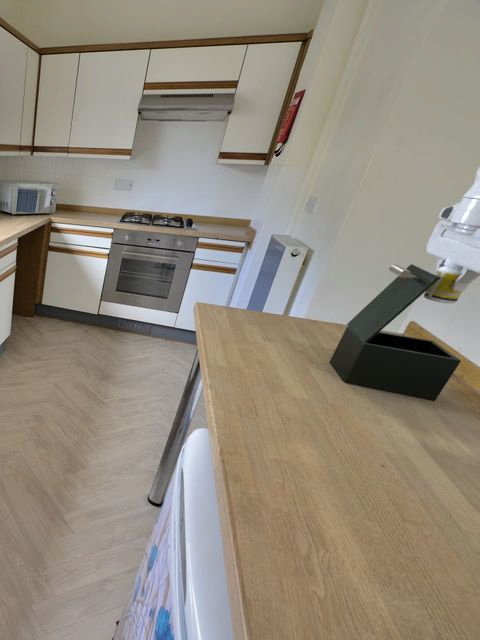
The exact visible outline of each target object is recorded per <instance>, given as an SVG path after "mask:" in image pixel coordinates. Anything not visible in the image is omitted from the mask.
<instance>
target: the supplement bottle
mask: <svg viewBox="0 0 480 640" xmlns="http://www.w3.org/2000/svg"><path fill="white" fill-rule="evenodd" d="M444 265H445V266H444V267H441V268H439V269H438V270H437V269H436V270H437V272H435V273H434V275H436V276H438V277H441V278H440V279H439V280H438V281H437V282H436V283H435V284H433V285H432V286H431V287H430V288H429V289H428V290H427V291H425V292H424V293H423V298H424V299H427V300H428V301H429V300H430V301H433V302H437V303H440V304H441V303H443V304H456V303H457V301H458V300H459V298H460V296H461V294H462V293H463V291H455V290H453V289H451V288H450V287H449V286H450V285H451V283H452V281H453V280H456V279H457V278H458V277H459V276H460V275H461V274H462V273H461V271H462V269H463V267H461V266H459V265H456V264H454V263H453V260H451V259H449V258H447V260H446V261H445V263H444Z"/></svg>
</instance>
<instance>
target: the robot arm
mask: <svg viewBox="0 0 480 640" xmlns="http://www.w3.org/2000/svg"><path fill="white" fill-rule="evenodd" d="M438 219H440V220H439V221H438V222H437V223H436V225H435V227H434V229H433V231H432V233H431V235H430V237H429V239H428V241H427V244H426V247H425V252H426V254H428V255H431V256H433V257H436V258H438V261H437V263H436V272H437V270H438V269H439V268H441V267H444V266H445V265H444V263H445V261H446V260H447V258H449V259H451V260H453V263H454V264H456V265H459V266H461V267H463V269H462V271H461V273H462V274H461V275H460V276H459V277H458V278H457V279H456V280H453V281H452V283H451V285H450V286H449V287H450V288H451V289H453V290H455V291H462V292H464V291H466V290H467V288H468V286H469V285H470V284H471V283H472V282H473V281H475V280H476V279H478V278H479V277H480V166H479V167H478V168H477V170H476V173H475V178H474V182H473V183H472V185H471V187H470V188H469V189H468V190H467V191H466V192H465V193H464V195H463V196H462V198H461V200H460V202H457V203H455V204H452V205H450V206H446V207H443V208H442V210H441V211H440V213H439V215H438ZM436 272H435V273H436Z"/></svg>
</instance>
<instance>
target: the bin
mask: <svg viewBox="0 0 480 640" xmlns="http://www.w3.org/2000/svg"><path fill="white" fill-rule="evenodd" d="M461 363H462V360H461V359H459V358H458V357H456V356H455V355H454V354H453V353H451V352H449V351H448V350H447V349H446V348H444V347H443V346H441V345H440V344H438V343H437V342H436V341H434V340H432V339H431V340H430V339H424V338H419V337H412V336H407V335H401V334H394V333H388V332H383V331H380V332H379V333H378V334H376V335H375V336H374V337H373V338H372V339H371V340H370V341H368V342H367V343H366V342H364V341H363V340H362V339H361V338H360V337H359V336H358V335H357V334H356V333H355V332H354V331H353V330H352V329H351V328H350V327H349V326H346V328H345V330H344V332H343V333H342V336H341V338H340V340H339V342H338V344H337V346H336V348H335V349H334V351H333V353H332V356H331V358H330V360H329V364H330V366H331V367H332V368H333V370H334V371H335V373H336V374H337V375H338V377H339V378H340V379H341V381H342V382H343V383H344V384H349V385H354V386H359V387H363V388H364V387H365V388H367V389H374V390H379V391H383V392H388V393H393V394H397V395H402V396H407V397H413V398H416V399H417V398H418V399H422V400H428V401H431V402H436V400H437V398H438V397H439V396H440V394H441V393H442V391H443V390H444V388H445V386H446V385H447V383H448V382H449V380H450V379H451V377H452V376H453V374H454V372H455V371H456V370H457V368H458V366H459V365H460V364H461Z"/></svg>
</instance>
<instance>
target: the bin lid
mask: <svg viewBox="0 0 480 640" xmlns="http://www.w3.org/2000/svg"><path fill="white" fill-rule="evenodd" d="M388 270H389V272H391V273H393V274H395V275H397V277H395V278H394V279H393V280H392V281H391V282H390V283H389V284H388V285H387V286H386V287H385V288H384V289H383V290H382V291H380V293H378V294H377V295H376V296H375V297H374V298H373V299H372V300H371V301H370V302H369V303H367V305H366V306H364V307H363V308H362V309H361V310H360V311H359V312H358V313H357V314H356V315H354V317H353V318H352V319H351V320H350V321H348V323H346V325H347V327H350V328H351V329H352V330H353V331H354V332H355V333H356V334H357V335H358V336H359V337H360V338H361V339H362V340H363V341H364V342H366V343H367V342H368V341H370V340H371V339H372V338H373V337H374V336H375V335H376V334H378V333H379V332H382V331H383V330H384V329H385V328H386V327H387V326H388V325H389V324H390V323H392V322H393V320H395V319H396V318H397V317H398V316H400V314H401V313H403V312H404V311H405V310H406V309H407V308H409V306H411V305H412V304H413V303H414V302H415V301H416V300H418V299H419V298H420V297H421V296H422V295H424V294H425V292H426V291H427V290H428V289H429V288H430V287H431V286H432V285H433V284H435V283H436V282H437V281H438V280H439V279H440V278H441V277H438V276H436V275H435V273H432V272H430V271H428V270H426V269H423V268H422V267H419V266H417V265H415V264H412V263H410V265H408V266H407V267H406V268H404V267H402V266H400V265H398V264H392V265H390V266H389V268H388Z"/></svg>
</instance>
